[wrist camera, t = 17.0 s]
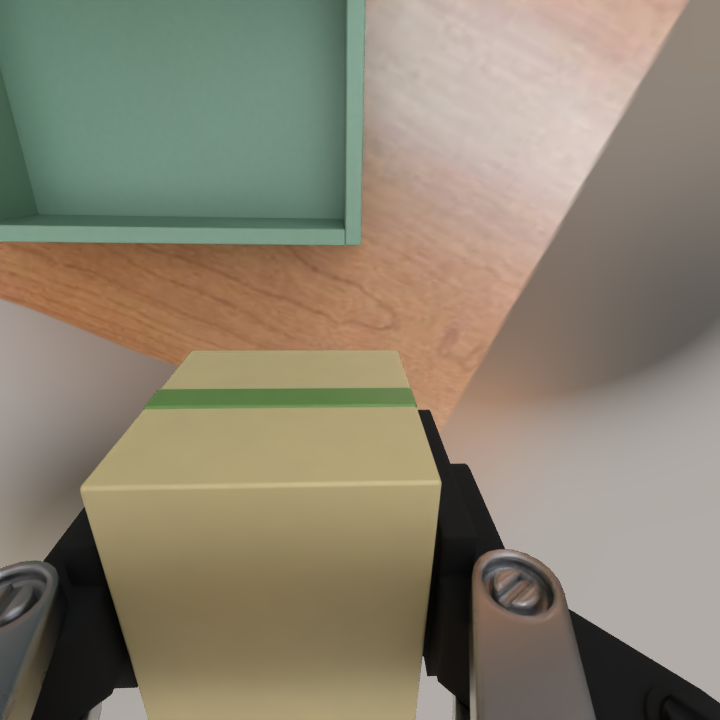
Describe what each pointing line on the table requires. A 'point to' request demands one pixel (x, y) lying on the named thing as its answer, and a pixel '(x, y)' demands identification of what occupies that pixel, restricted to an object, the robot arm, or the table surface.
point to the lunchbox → (182, 121)
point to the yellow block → (272, 537)
